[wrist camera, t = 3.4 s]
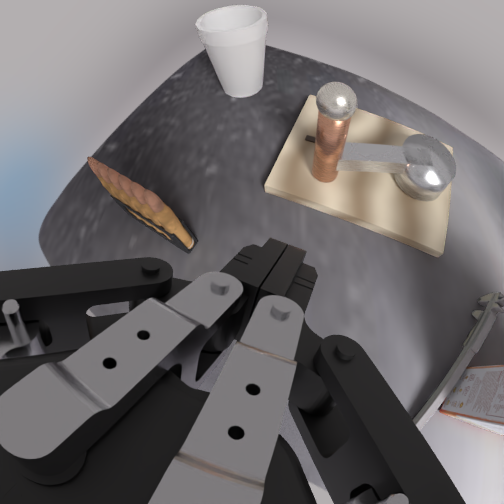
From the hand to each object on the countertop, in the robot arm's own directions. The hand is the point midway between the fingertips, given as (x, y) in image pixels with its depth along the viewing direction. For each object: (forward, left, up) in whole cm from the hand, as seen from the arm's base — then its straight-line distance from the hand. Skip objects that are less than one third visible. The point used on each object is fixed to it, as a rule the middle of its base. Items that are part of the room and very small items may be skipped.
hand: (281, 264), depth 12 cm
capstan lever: (-5, -19, -17) cm, 26 cm away
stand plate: (-4, -21, -19) cm, 29 cm away
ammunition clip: (+17, -4, -19) cm, 26 cm away
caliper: (-20, 0, -20) cm, 28 cm away
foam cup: (+18, -30, -19) cm, 41 cm away
